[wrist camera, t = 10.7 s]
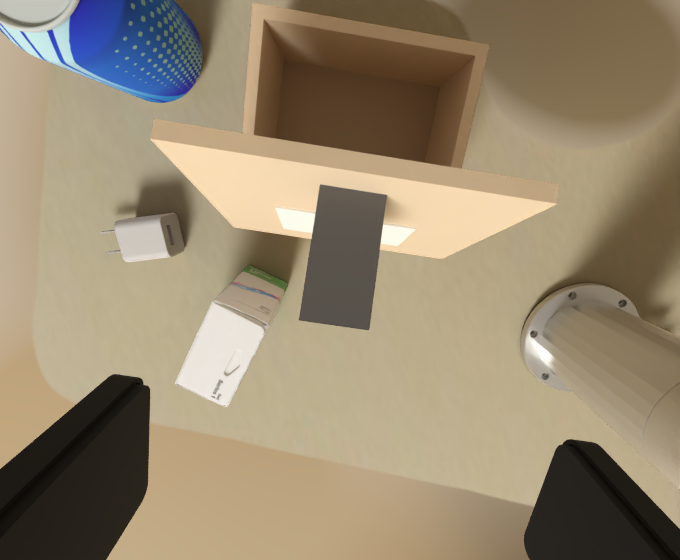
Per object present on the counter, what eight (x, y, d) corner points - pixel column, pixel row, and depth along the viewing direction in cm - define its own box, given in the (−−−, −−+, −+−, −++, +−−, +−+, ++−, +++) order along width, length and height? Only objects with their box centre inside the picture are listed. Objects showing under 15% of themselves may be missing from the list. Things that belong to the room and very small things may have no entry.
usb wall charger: (185, 250, 39) (168, 258, 35) (121, 258, 39) (97, 267, 35) (176, 211, 38) (158, 216, 34) (110, 220, 38) (85, 225, 34)
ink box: (247, 262, 39) (210, 297, 28) (290, 283, 40) (270, 325, 29) (217, 329, 41) (170, 387, 30) (257, 348, 42) (227, 411, 31)
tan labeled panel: (559, 184, 15) (544, 356, 14) (443, 248, 29) (432, 336, 28) (154, 118, 14) (117, 295, 13) (235, 217, 28) (220, 306, 27)
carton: (448, 81, 35) (489, 44, 25) (417, 229, 38) (443, 247, 29) (277, 51, 34) (252, 2, 24) (262, 205, 38) (236, 215, 28)
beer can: (198, 117, 36) (89, 72, 20) (109, 89, 35) (-73, 20, 19) (216, 20, 33) (109, -114, 18) (121, -12, 33) (-72, -179, 17)
